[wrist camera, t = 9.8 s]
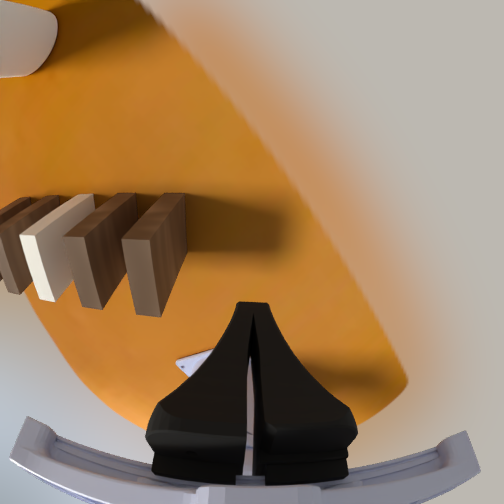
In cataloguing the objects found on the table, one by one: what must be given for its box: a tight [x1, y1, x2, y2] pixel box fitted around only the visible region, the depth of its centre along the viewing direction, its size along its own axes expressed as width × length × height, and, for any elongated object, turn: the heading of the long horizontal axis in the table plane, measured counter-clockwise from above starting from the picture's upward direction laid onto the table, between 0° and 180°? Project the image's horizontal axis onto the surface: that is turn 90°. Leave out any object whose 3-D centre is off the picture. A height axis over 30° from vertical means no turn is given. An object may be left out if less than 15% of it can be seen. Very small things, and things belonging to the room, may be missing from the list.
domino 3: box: [19, 194, 95, 302], centre depth 18 cm, size 2×5×8 cm, turn 177°
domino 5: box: [121, 193, 187, 317], centre depth 18 cm, size 2×5×8 cm, turn 177°
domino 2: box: [0, 195, 60, 295], centre depth 18 cm, size 2×5×8 cm, turn 177°
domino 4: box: [63, 193, 138, 310], centre depth 18 cm, size 2×5×8 cm, turn 177°
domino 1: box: [0, 197, 31, 281], centre depth 18 cm, size 2×5×8 cm, turn 177°
